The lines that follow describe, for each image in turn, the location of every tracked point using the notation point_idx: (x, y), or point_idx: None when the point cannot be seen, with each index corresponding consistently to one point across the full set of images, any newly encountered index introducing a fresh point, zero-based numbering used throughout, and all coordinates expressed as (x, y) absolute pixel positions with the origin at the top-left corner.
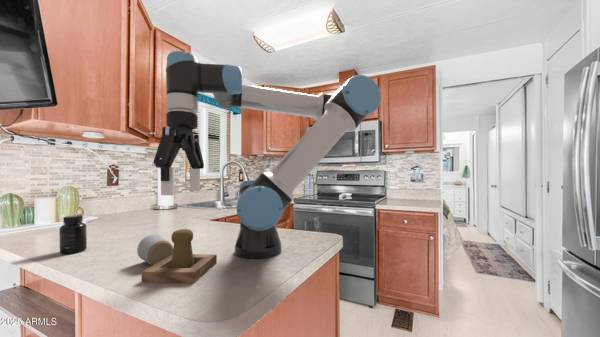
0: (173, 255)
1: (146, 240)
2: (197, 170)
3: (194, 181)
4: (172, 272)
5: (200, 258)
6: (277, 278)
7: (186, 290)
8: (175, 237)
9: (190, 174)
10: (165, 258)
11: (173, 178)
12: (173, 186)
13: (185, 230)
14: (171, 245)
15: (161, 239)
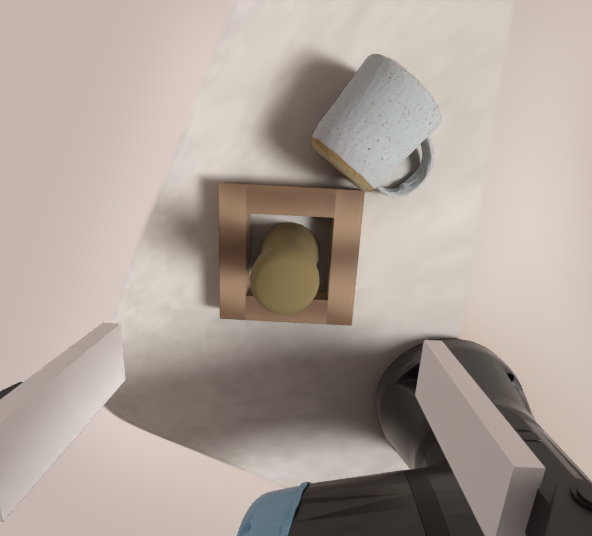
0: (264, 249)
1: (366, 91)
2: (483, 521)
3: (443, 413)
4: (219, 265)
5: (328, 289)
6: (254, 457)
7: (191, 306)
8: (251, 273)
9: (481, 425)
10: (322, 190)
11: (65, 446)
12: (96, 409)
13: (276, 300)
14: (366, 189)
15: (360, 157)
